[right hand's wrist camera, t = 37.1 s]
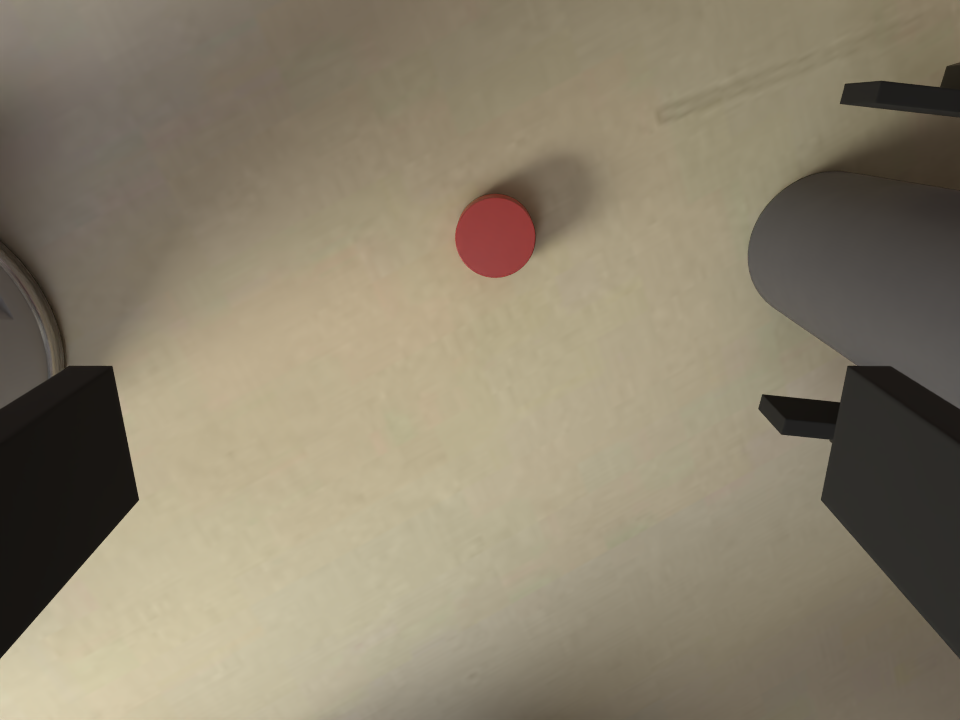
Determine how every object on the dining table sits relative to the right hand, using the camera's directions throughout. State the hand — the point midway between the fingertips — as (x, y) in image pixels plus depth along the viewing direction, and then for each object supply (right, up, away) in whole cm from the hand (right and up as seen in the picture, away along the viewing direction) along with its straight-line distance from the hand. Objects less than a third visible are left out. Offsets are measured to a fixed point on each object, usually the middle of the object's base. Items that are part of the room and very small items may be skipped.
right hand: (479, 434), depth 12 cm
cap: (+1, +7, +20) cm, 22 cm away
